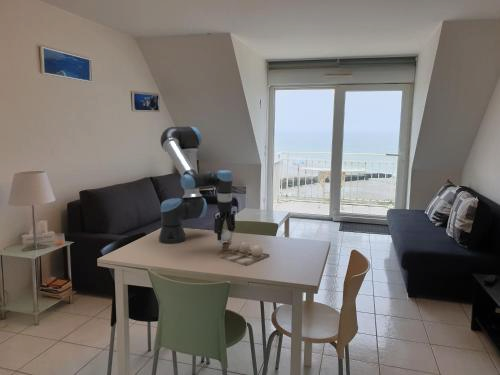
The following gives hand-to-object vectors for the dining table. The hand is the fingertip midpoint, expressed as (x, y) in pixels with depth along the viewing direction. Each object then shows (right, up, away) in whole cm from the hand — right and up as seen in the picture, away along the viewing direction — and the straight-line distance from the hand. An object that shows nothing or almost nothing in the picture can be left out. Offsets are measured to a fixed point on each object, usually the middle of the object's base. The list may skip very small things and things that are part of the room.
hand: (224, 244), depth 207 cm
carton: (+10, -5, -9) cm, 15 cm away
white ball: (0, +2, 0) cm, 2 cm away
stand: (0, -4, 0) cm, 4 cm away
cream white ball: (+16, -5, -9) cm, 19 cm away
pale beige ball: (+10, -4, -3) cm, 11 cm away
